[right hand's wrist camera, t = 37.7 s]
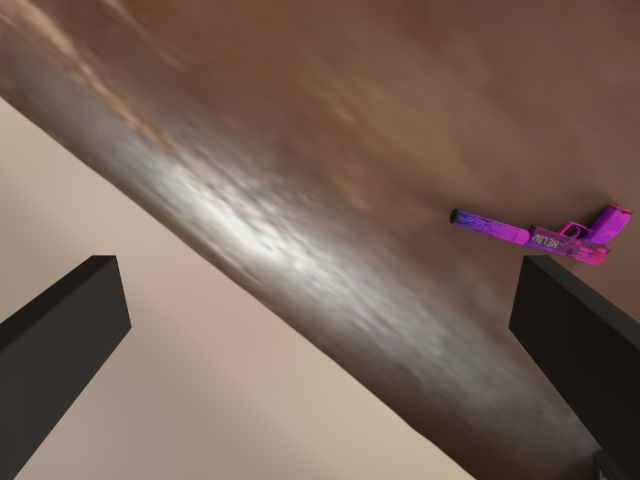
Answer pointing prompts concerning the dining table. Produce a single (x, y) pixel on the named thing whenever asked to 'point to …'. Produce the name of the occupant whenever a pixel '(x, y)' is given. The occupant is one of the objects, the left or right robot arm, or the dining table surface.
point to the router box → (606, 468)
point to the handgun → (554, 233)
